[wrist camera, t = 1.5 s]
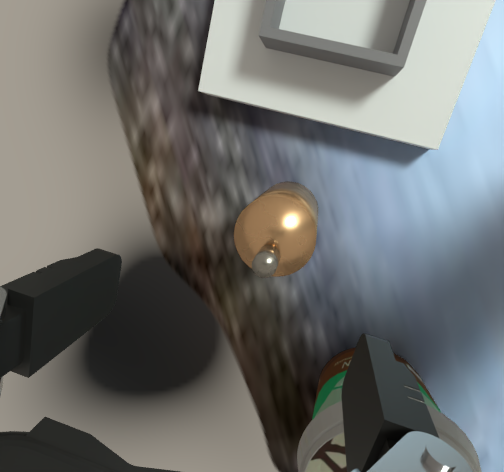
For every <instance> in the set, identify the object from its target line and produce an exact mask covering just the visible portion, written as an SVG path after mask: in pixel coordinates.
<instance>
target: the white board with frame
mask: <svg viewBox="0 0 504 472" xmlns="http://www.w3.org/2000/svg"><path fill="white" fill-rule="evenodd" d="M495 1H496V0H215V2H214V7H213V13H212V18H211V23H210V29H209V34H208V40H207V45H206V51H205V56H204V62H203V67H202V72H201V78H200V83H199V89H198V91H200V92H202V93H204V94H206V95H211V96H215V97H219V98H223V99H227V100H231V101H235V102H239V103H243V104H247V105H251V106H255V107H259V108H263V109H267V110H271V111H276V112H280V113H284V114H288V115H292V116H296V117H300V118H304V119H308V120H312V121H316V122H320V123H324V124H328V125H332V126H336V127H340V128H345V129H349V130H353V131H357V132H361V133H365V134H369V135H373V136H377V137H381V138H385V139H389V140H393V141H397V142H401V143H405V144H410V145H414V146H418V147H422V148H426V149H431V150H438V148H439V145H440V143H441V140H442V137H443V135H444V132H445V130H446V127H447V125H448V122H449V119H450V117H451V114H452V112H453V109H454V107H455V104H456V101H457V99H458V96H459V94H460V91H461V88H462V86H463V83H464V81H465V78H466V76H467V73H468V70H469V68H470V65H471V63H472V60H473V57H474V55H475V52H476V50H477V47H478V45H479V42H480V39H481V37H482V34H483V32H484V29H485V26H486V24H487V21H488V19H489V16H490V14H491V11H492V8H493V6H494V3H495Z"/></svg>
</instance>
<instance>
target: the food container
mask: <svg viewBox="0 0 504 472" xmlns="http://www.w3.org/2000/svg"><path fill="white" fill-rule="evenodd" d="M355 349H356V348H351V349H348V350H345V351H343V352H341V353H339V354H337V355H336V356H335V357H333V358H332V359H331V360H330V361H329V362H328V363H327V364H326V366H325V367H324V369H323V370H322V373H321V375H320V378H319V383H318V388H317V394H316V400H315V405H314V411H313V417H312V421H311V422H310V423H309V425H308V426H307V428H306V429H305V430H304V433H303V435H302V437H301V439H300V442H299V446H298V451H297V464H298V471H299V472H347V466H346V452H345V439H344V425H343V412H342V398H341V394H342V386H343V381H344V378H345V375H346V372H347V369H348V367H349V364H350V362H351V359H352V356H353V354H354V351H355ZM393 354H394V353H393ZM394 357H395V360H396V361H398V362H401V363H404V365H405V366H406V367H407V368H408V369H409V370H410V372H411V373H412V374H413V375H414V376H415V378H416V380H417V383H418V385H419V388H420V392H421V393H422V396H423V398H424V401H425V402H424V404H426V406H427V408H428V411H429V413H430V416H431V418H432V421H433V423H434V426H435V428H436V431H437V433H438V436H439V438H440V439H441V440H443V441H444V442H446V443H447V444H449V445H450V446H451V447H452V448H454V449H455V450H456V451H457V452H458V453H459V454H460V455H461V456H462V457H463V458H464V459H465V460H466V462H467V463H468V464H469V466H470V467H471V469H472V471H473V472H481V468H480V463H479V459H478V455H477V453H476V451H475V449H474V447H473V445H472V443H471V442H470V440H469V439H468V437H467V436H466V434H465V433H464V432H463V431H462V430H461V429H460V428H459V427H458V426H457V425H456V424H455V423H454V422H453V421H452V420H450V419H449V418H448V417H446V416H445V415H444V414H442V413H441V411H440V410H439V408H438V406H437V405H436V403H435V401H434V400H433V398H432V396H431V395H430V393H429V391H428V390H427V388H426V386H425V385H424V383H423V382H422V380H421V378H420V377H419V375H418V373H417V372H416V371H415V370H414V369H413V368H412V367H411V365H410V364H409V363H408V362H407V361H406V360H404V359H403V358H401V357H399V356H398V355H396V354H394Z"/></svg>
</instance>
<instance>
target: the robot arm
mask: <svg viewBox="0 0 504 472" xmlns="http://www.w3.org/2000/svg"><path fill="white" fill-rule="evenodd" d="M121 263H122V261H121V257H120V255H117V254H114V253H111V252H108V251H104V250H101V249H94V250H92V251H90V252H88V253H85V254H83V255H81V256H79V257H76V258H70V259H65V260H60V261H58V262H55V263H53V264H51V265H48V266H47V268H46V267H44V268H41V269H39V270H37V271H36V272H32V273H30V274H28V275H25V276H23V277H21V278H18V279H16V280H14V281H12V282H9V283H7V284H5V285H2V286H0V395H1V390H2V386H3V376H4V375H5V374H7V373H8V372H9V371H12V372H15V373H17V374H20V375H22V376H25V377H28V378H29V377H30V376H31V375H33V374H34V373H35V372H37V371H38V370H39V369H40V368H42V367H43V366H44V365H45V364H47V363H48V362H49V361H51V360H52V359H53V358H54V357H56V356H57V355H58V354H59V353H61V352H62V351H63V350H65V349H66V348H67V347H68V346H69V345H71V344H72V343H73V342H74V341H76V340H77V339H78V338H80V337H81V336H82V335H84V334H85V333H86V332H87V331H89V330H90V329H91V328H92V327H94V326H95V325H96V324H97V323H99V322H100V321H101V320H103V319H104V318H105V317H106V316H107V315H108V314H109V313H110V312H111V310H112V309H113V307H114V304H115V302H116V298H117V291H118V284H119V278H120V271H121ZM341 398H342V412H343V425H344V439H345V452H346V466H347V472H473V471H472V469H471V467H470V466H469V464H468V463H467V462H466V460H465V459H464V458H463V457H462V456H461V455H460V454H459V453H458V452H457V451H456V450H455V449H454V448H452V447H451V446H450V445H449V444H447V443H446V442H444V441H443V440H441V439H440V438H439V436H438V433H437V431H436V428H435V426H434V423H433V421H432V418H431V416H430V413H429V411H428V408H427V406H426V404H424V402H425V401H424V398H423V396H422V393H421V392H420V388H419V385H418V383H417V380H416V378H415V376H414V375H413V374H412V373H411V372H410V370H409V369H408V368H407V367H406V366H405V365H404V363H401V362H398V361H396V360H395V357H394V354H393V352H392V349H391V346H390V343H389V341H386V340H383V339H380V338H377V337H374V336H371V335H367V334H362V335H361V337H360V339H359V341H358V343H357V346H356V349H355V351H354V354H353V356H352V359H351V362H350V364H349V367H348V369H347V372H346V375H345V378H344V381H343V386H342V394H341ZM0 472H178V471H170V470H162V469H154V468H146V467H137V466H133V465H131V464H129V463H127V462H126V461H125V460H123V459H122V458H121V457H119V456H118V455H117V454H115V453H114V452H113V451H112V450H110V449H109V448H108V447H106V446H105V445H104V444H102V443H101V442H100V441H99V440H97V439H96V438H95V437H93V436H92V435H91V434H88V433H86V432H83V431H80V430H78V429H75V428H73V427H70V426H68V425H65V424H62V423H60V422H57V421H55V420H52V419H50V418H47V417H44V418H43V419H42V420H41V421H40V422H39V423H38V424H37V425H36V426H35V427H34V428H33V429H32V430H31V431H30V432H11V431H10V432H0Z"/></svg>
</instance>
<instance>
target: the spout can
mask: <svg viewBox="0 0 504 472" xmlns="http://www.w3.org/2000/svg"><path fill="white" fill-rule="evenodd" d="M317 221H318V204H317V201H316V199H315V197H314V195H313V194H312V192H311V191H310V190H309V189H308V188H306V187H305V186H303V185H301V184H299V183H296V182H281V183H278V184H276V185H274V186H272V187H271V188H269V189H268V190H267V191H266V192H264V193H263V194H262V195H261V196H259V197H258V198H257V199H255V200H254V201H253V202H252V203H250V204H249V205H248V206H247V207H246V208H245V209H244V210H243V211H242V212H241V214H240V215H239V217H238V219H237V221H236V225H235V229H234V242H235V246H236V249H237V251H238V253H239V255H240V257H241V258H242V260H243V261H244V262H245V263H246V264H247V265H248V266H249V267H250V268H252V270H253V272H254V273H255V274H256V275H257V276H259V277H261V278H268V277H271V276H285V275H289V274H292V273H294V272H296V271H298V270H299V269H301V268H302V267H303V266H304V265H305V264H306V263H307V262H308V261H309V259H310V258H311V256H312V254H313V252H314V249H315V245H316V234H317Z"/></svg>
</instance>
